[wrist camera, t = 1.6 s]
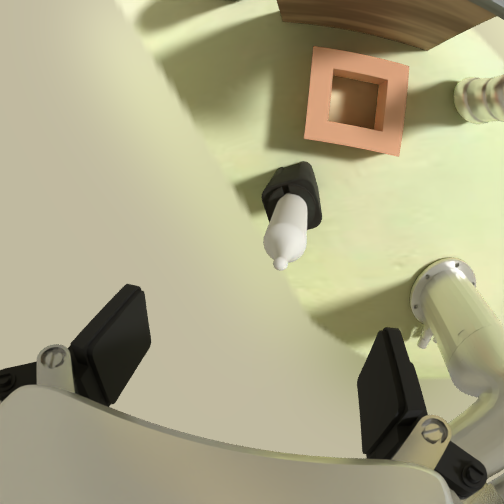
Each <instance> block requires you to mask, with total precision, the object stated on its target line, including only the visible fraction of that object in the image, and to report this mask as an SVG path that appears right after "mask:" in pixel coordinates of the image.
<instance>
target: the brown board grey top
mask: <svg viewBox="0 0 504 504" xmlns="http://www.w3.org/2000/svg"><path fill="white" fill-rule="evenodd" d="M277 3H278V6H279V10H280V13H281V17H282V20H283V22H293V23H304V24H312V25H320V26H327V27H334V28H340V29H345V30H351V31H356V32H361V33H365V34H370V35H374V36H378V37H382V38H386V39H390V40H394V41H397V42H401V43H404V44H408V45H411V46H414V47H417V48H420V49H423V50H426V51H428V50H430V49H432V48H433V47H435V46H437V45H439V44H441V43H443V42H445V41H446V40H448V39H450V38H452V37H454V36H456V35H458V34H460V33H462V32H464V31H466V30H468V29H470V28H472V27H474V26H476V25H478V24H480V23H483V22H485V21H487V20H489V19H491V18H493V17H496V16H498V17H500V18H502V19H503V20H504V0H277Z"/></svg>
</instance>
